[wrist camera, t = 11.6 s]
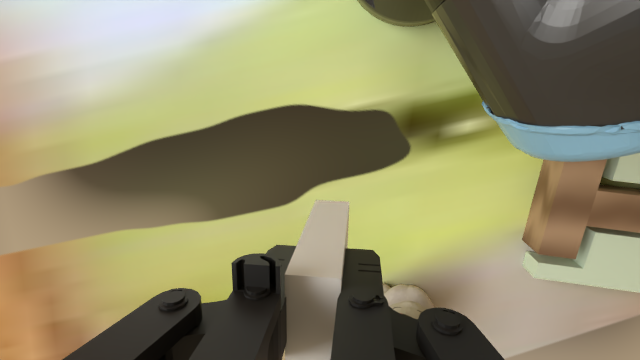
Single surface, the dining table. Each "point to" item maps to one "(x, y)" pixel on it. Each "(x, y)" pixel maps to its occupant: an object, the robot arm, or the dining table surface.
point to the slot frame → (599, 247)
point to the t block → (576, 207)
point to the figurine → (407, 299)
